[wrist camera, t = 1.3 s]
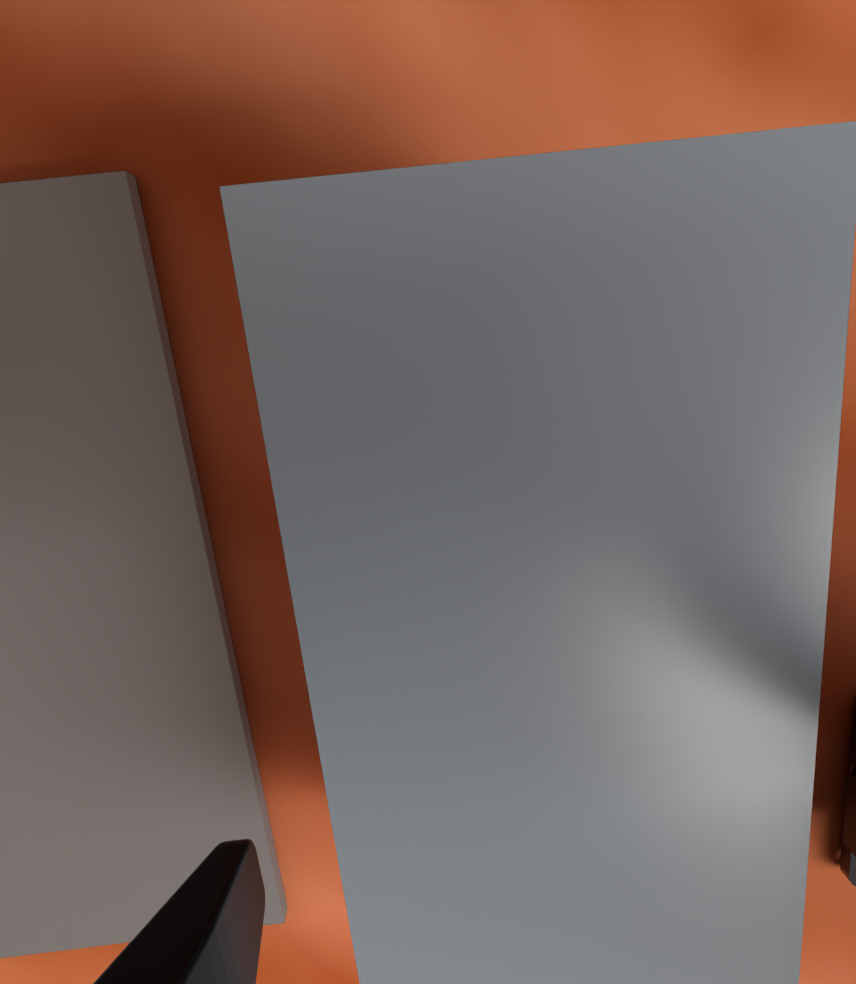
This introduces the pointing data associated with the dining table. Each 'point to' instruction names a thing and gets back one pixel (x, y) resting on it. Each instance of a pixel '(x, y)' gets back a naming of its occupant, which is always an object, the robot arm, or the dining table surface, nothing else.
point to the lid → (561, 542)
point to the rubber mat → (105, 591)
